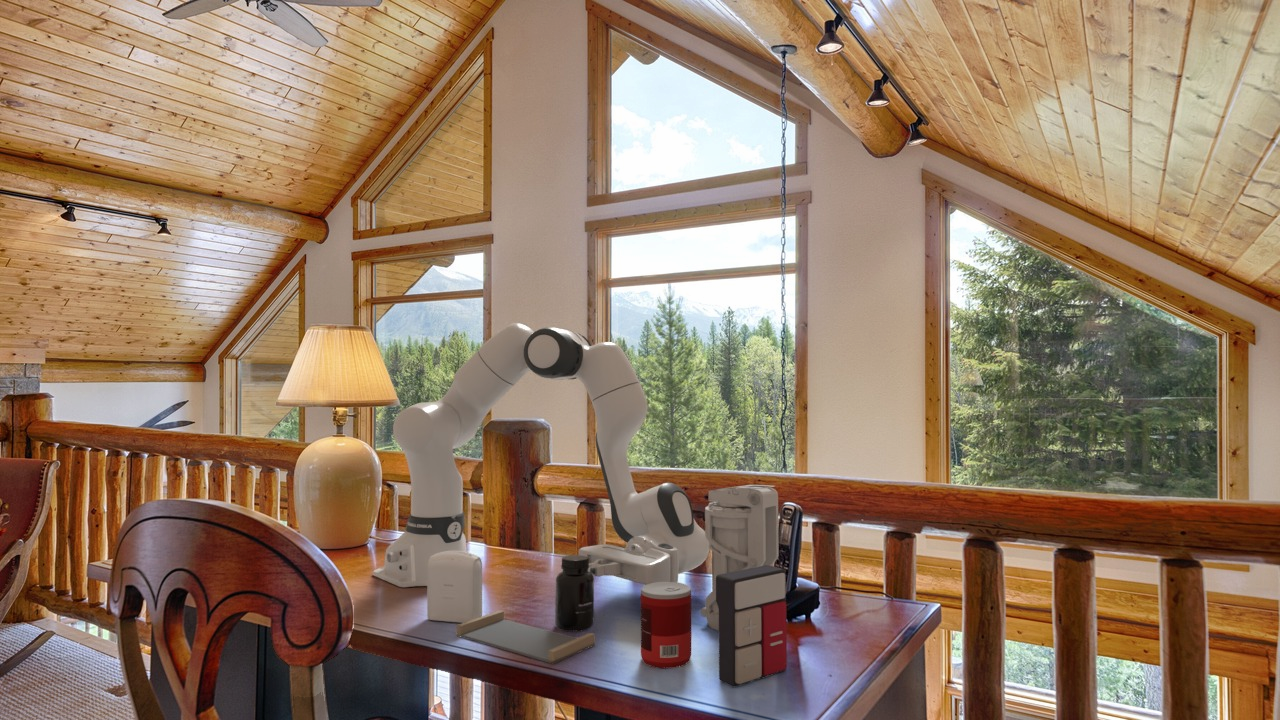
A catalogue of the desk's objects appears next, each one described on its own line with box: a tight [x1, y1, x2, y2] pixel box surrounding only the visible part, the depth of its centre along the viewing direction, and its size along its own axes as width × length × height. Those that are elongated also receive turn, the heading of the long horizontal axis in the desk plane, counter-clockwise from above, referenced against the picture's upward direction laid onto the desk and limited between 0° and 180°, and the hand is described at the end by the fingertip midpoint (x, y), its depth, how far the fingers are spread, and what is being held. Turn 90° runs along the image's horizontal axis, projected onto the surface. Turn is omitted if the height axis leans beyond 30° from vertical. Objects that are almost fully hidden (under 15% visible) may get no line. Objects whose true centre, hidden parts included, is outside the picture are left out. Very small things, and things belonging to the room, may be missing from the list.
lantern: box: [700, 484, 779, 632], centre depth 130 cm, size 13×10×25 cm
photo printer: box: [426, 551, 483, 624], centre depth 133 cm, size 10×4×12 cm, turn 74°
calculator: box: [716, 565, 788, 688], centre depth 107 cm, size 11×4×15 cm, turn 126°
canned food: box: [640, 582, 692, 669], centre depth 113 cm, size 8×8×11 cm
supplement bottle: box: [554, 554, 595, 632], centre depth 129 cm, size 7×7×12 cm
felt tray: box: [456, 609, 596, 665], centre depth 122 cm, size 22×10×2 cm, turn 55°
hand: (591, 570), depth 132 cm, fingers closed
